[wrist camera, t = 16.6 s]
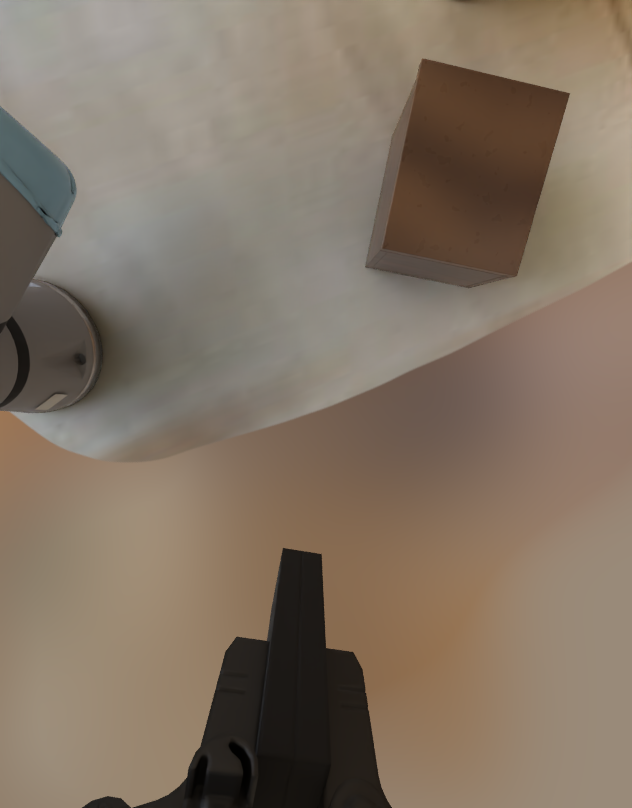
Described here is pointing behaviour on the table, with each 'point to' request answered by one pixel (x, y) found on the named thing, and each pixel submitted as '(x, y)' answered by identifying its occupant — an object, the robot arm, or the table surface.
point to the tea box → (408, 263)
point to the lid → (471, 168)
